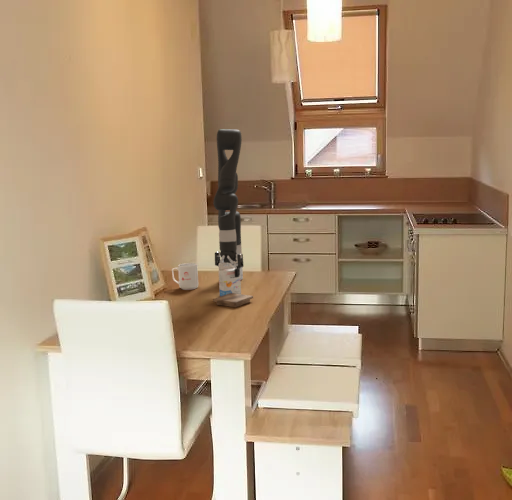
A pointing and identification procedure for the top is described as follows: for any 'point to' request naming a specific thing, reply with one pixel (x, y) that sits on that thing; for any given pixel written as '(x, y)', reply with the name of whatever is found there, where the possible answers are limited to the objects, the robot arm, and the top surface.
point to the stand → (233, 300)
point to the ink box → (228, 280)
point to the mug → (187, 276)
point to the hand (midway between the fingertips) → (229, 276)
